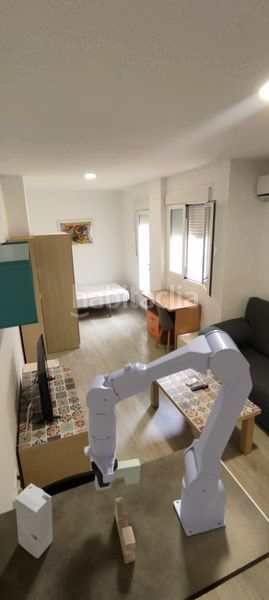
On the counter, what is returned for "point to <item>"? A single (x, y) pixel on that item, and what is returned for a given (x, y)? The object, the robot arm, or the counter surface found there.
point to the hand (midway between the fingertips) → (103, 480)
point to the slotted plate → (125, 473)
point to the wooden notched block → (125, 530)
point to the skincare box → (34, 520)
